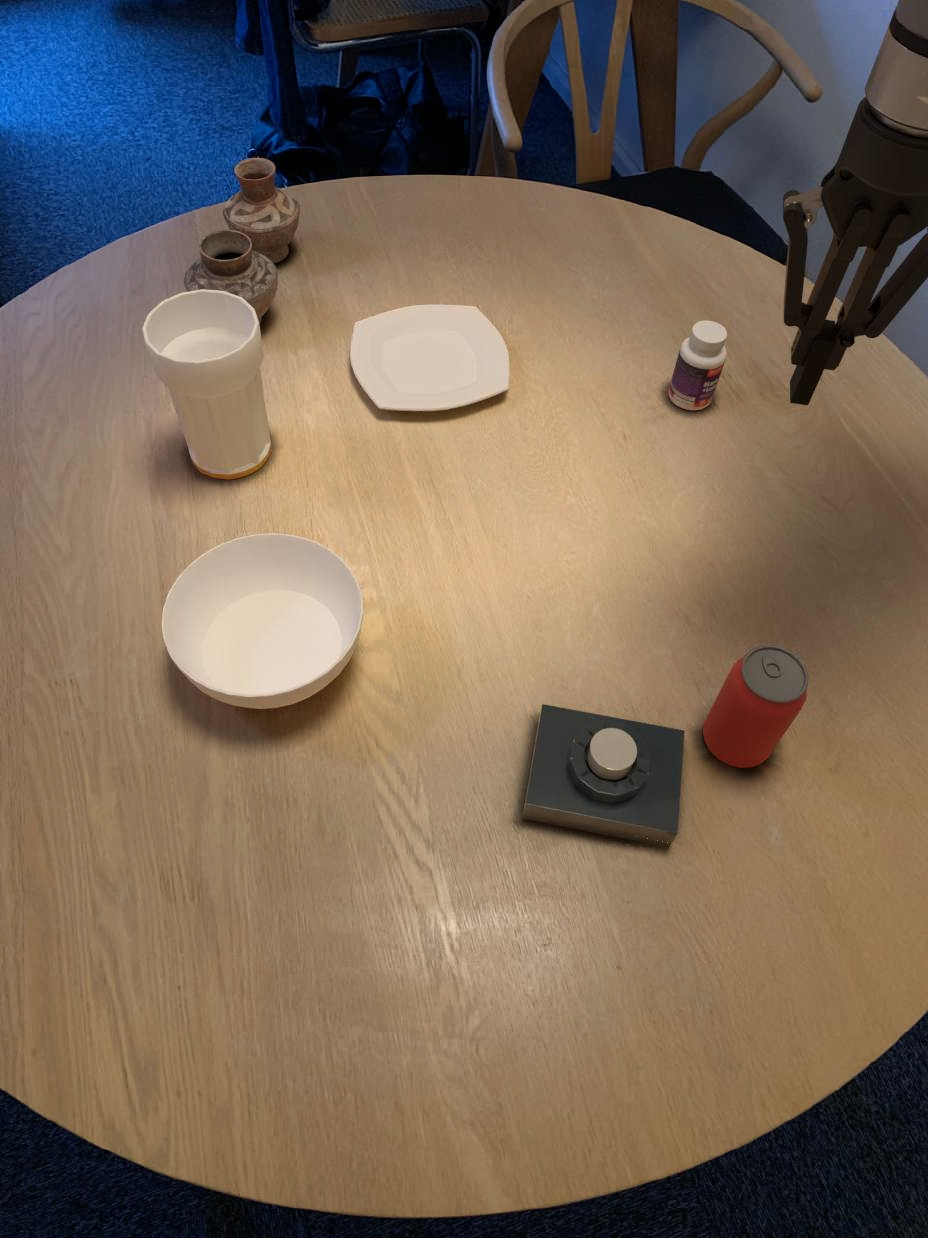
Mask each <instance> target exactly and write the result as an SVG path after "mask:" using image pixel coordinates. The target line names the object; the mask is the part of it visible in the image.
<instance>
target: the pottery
mask: <svg viewBox="0 0 928 1238" xmlns="http://www.w3.org/2000/svg"><path fill="white" fill-rule="evenodd" d="M233 171H234V175H235V177H236V178H237V181H238V183H239V186H240V188H241V190H239V191H238V192H236V193H235V194H233V195H232V196H231V197H229V199H228V200H227V201H226V203H225V204H224V206H223V208H222V216H223V219H224V221H225V224H226V226H227V227H228V229H220V230H216V231H212V232H210V233H208V234H207V235H206V236H204V237H203V238H201V240H200V242H199V245H198V247H199V249H198V250H199V255H200V257H199V258H198V259H196V260H195V261H194V262H193V263H192V264H191V265H190V266H189V268H188V269H187V270H186V272H185V274H184V277H183V282H184V283H183V284H184V288H185V290H186V291H185V292H190V291H195V290H201V289H206V290H218V291H225V292H228V293H231V294H234V295H236V296H239V297H242V298H243V299H244V300H245V301H246V302H247V303H249V304H250V305H251V306H252V307H253V308H254V309H255V312H256V315H257V318H258V321H259V325H260V324H261V322H262V320H263V319H262V317H263V316H264V314H266V312H268V310H269V309H270V307H271V306H272V304H273V301H274V299H275V298H276V294H277V291H278V285H279V272H278V268H277V266H276V263H280V262H281V261H283V260H284V259H286V258H287V257H288V255H289V253H290V252H289V250H290V249H289V246H288V245H289V244H290V243H291V241H292V239H293V238H294V236H295V235H296V232H297V229H298V226H299V222H300V221H299V220H300V215H301V205H300V203H299V201H298V199H296V198H295V196H293V195H292V194H291V193H290V192H288V191H286V190H283V189H282V188H279V187H276V186H275V179H276V165H275V163H274V162H273V161H272V160H269V159H267V158H262V157H249V158H246V159H243V160H241V161H239V162H238V163H237V164H236V165H235V166H234V170H233Z"/></svg>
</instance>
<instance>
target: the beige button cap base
mask: <svg viewBox="0 0 928 1238" xmlns="http://www.w3.org/2000/svg"><path fill="white" fill-rule="evenodd" d="M607 728H616V729H620V730H622V731H624V732H626V733H627V734H629V735H630V736H631V737H632V739H633V740H634V742H635V744H636V747H637V756H636V759H635V762H634V764H633V766H632V769H631V771H630V772H629V773H628V774H627V775H626V776H625V777H623V778H621V779H618V780H606V779H603V778H601V777H599V776H597V775H596V774H595V773H594V772H593V771H592V770H591V769H590V767H589V765H588V762H587V752H588V749H589V746H590V743H591V740H592V738H593V736H594V735H595V734H596V733H597V732H599V731H601V730H603V729H607ZM684 746H685V729H679V728H673V727H668V726H663V725H657V724H652V723H646V722H641V721H636V720H635V721H634V720H631V719H626V718H620V717H615V716H609V715H603V714H598V713H593V712H587V711H582V710H577V709H571V708H566V707H560V706H555V705H550V704H544V703H542V704H541V709H540V714H539V719H538V724H537V729H536V734H535V741H534V747H533V753H532V759H531V763H530V764H531V765H530V771H529V776H528V783H527V788H526V794H525V800H524V806H523V811H522V819H523V820H528V821H533V822H539V823H543V824H547V825H548V824H549V825H554V826H559V827H563V828H568V829H573V830H578V831H585V832H589V833H594V834H600V835H604V836H609V837H615V838H620V839H625V840H628V841H629V840H630V841H636V842H640V843H645V844H650V845H655V846H660V847H665V848H671V846H672V844H673V843H674V840H675V839H676V837H677V835H678V833H679V819H680V805H681V803H680V802H681V789H682V774H683V761H684V760H683V758H684ZM636 836H637V837H636ZM647 838H648V839H647ZM657 840H658V841H657ZM662 841H663V842H662ZM667 842H668V843H667Z"/></svg>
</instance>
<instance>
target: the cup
mask: <svg viewBox="0 0 928 1238" xmlns="http://www.w3.org/2000/svg"><path fill="white" fill-rule="evenodd" d="M141 332H142V336H143V340H144V344H145V347H146V350H147V353H148V355H149V358H150V361H151V364H152V366H153V369H154V372H155V375H156V377H157V378H158V379H159V381H161V382H162V384H164V386H165V387H166V388H167V389H168V392H169V395H170V398H171V401H172V404H173V406H174V410H175V413H176V416H177V418H178V420H179V425H180V427H181V430H182V433H183V436H184V439H185V442H186V445H187V449H188V453H189V456H190V459H191V462H192V465H194V467H195V468H196V469H197V470H198V471H199V472H200V473H201V474H203V475H206V476H208V477H210V478H213V479H220V480H235V479H239V478H244V477H247V476H249V475H251V474H253V473H255V472H256V471H258V470H260V469H261V468H262V467H263V466H264V465H265V464H266V463H267V461H268V460H269V458H270V455H271V453H272V452H271V451H272V448H273V446H272V439H271V433H270V426H269V420H268V411H267V407H266V399H265V393H264V392H265V391H264V387H263V378H262V373H261V368H262V363H263V362H264V361H263V360H264V358H265V355H264V347H263V341H262V333H261V332H262V331H261V325H260V324H259V321H258V318H257V315H256V312H255V309H254V308H253V307H252V306H251V305H250V304H249V303H247V302H246V301H245V300H244V299H243V298H242V297H239V296H236V295H234V294H231V293H228V292H225V291H218V290H206V289H201V290H195V291H190V292H187V291H185V292H179V293H178V294H175V295H173V296H171V297H168V298H166V299H164V300H162V301H160V302H159V303H158V304H157V305H156V306H155V307H154V308H153V309H152V310H151V311H149V312H148V314H147V316H146V317H145V320H144V323H143V325H142V327H141Z"/></svg>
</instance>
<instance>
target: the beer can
mask: <svg viewBox="0 0 928 1238" xmlns="http://www.w3.org/2000/svg"><path fill="white" fill-rule="evenodd" d="M809 678H810V677H809V673H808V670H807V667H806V665H805V664H804V662H803V661H802V660H801V658H800V657H798V656H797V655H796V654H795V653H794V652H792V651H790V650H788V649H786V648H785V647H782V646H777V645H773V644H769V645H767V644H766V645H760V646H756V647H753V648H752V649H750V650H749V651H748V652H747V653H745V654H744V655H743V656H742V657H740V658H739V659H738V660H736V661H735V663H734V664H733V666H732V668H731V669H730V671H729V673H728V675H727V676H726V679H725V680H724V682H723V684H722V687H721V688H720V689H719V691H718V694H717V696H716V698H715V699H714V702H713V703H712V706H711V708H710V709H709V712H708V713H707V715H706V717H705V719H704V721H703V726H702V734H703V739H704V743H705V745H706V746H707V748H708V750H709V751H710V753H711V754H712V755H713V756H715V757H716V759H718V760H719V761H721V762H723V763H724V764H726V765H728V766H732V767H735V768H738V769H739V768H741V769H742V768H743V769H744V768H753V767H756V766H758V765H761V764H763V763H764V762H765V761H767V759H769V757H770V756H771V755H772V753H773V752H774V750H775V749H776V747H777V746H778V744H779V743H780V741H781V740H782V739H783V738H784V735H785V734H786V733H787V731H788V730H789V728H790V727H791V725H792V724H793V722H794V720H796V718H797V716H798V715H799V713H800V712H801V710H802V708H803V706H804V705H805V703H806V700H807V695H808V687H809V680H810V679H809Z"/></svg>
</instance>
